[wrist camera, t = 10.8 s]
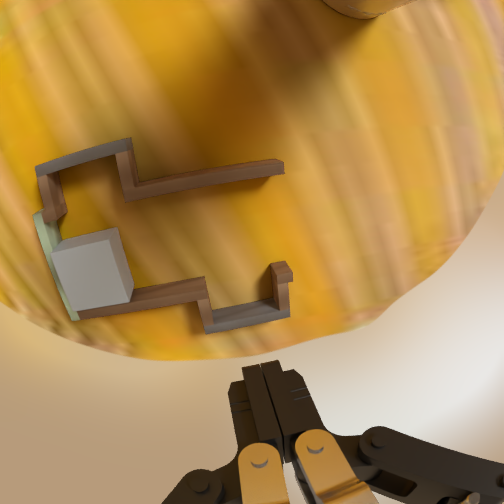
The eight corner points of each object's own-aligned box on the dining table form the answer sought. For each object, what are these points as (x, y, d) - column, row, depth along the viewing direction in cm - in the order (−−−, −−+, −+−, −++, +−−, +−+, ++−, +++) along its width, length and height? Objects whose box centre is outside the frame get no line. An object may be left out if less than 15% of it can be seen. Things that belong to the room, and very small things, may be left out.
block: (63, 239, 25) (49, 253, 22) (117, 226, 26) (108, 239, 23) (83, 292, 28) (73, 311, 24) (134, 283, 28) (129, 302, 25)
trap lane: (34, 167, 22) (21, 171, 19) (270, 114, 24) (278, 113, 22) (92, 337, 30) (87, 351, 27) (287, 302, 32) (295, 315, 30)
